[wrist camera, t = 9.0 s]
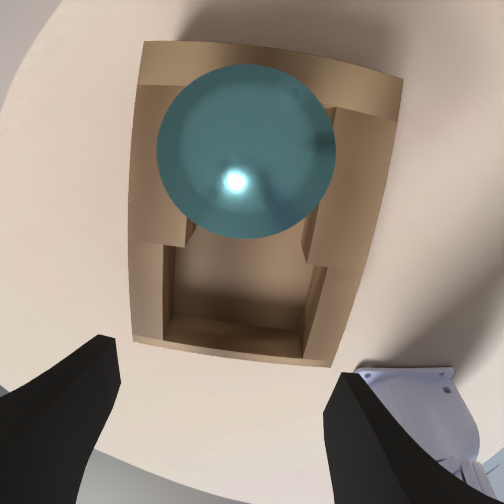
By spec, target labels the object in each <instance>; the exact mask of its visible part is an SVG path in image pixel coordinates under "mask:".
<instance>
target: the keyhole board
mask: <svg viewBox="0 0 504 504" xmlns="http://www.w3.org/2000/svg"><path fill="white" fill-rule="evenodd" d="M239 64H253V65H262V66H266V67H270V68H274V69H277V70H279V71H282V72H285V73H287V74H288V75H290V76H292V77H294V78H296V79H297V80H298V81H300V82H301V83H302V84H304V85H305V86H306V87H307V88H308V89H309V90H310V91H311V92H312V93H313V94H314V95H315V96H316V97H317V99H318V100H319V101H320V103H321V104H322V106H323V107H324V109H325V111H326V113H327V114H328V117H329V119H330V122H331V124H332V128H333V132H334V135H335V143H336V161H335V167H334V172H333V175H332V179H331V182H330V184H329V186H328V189H327V191H326V193H325V194H324V196H323V198H322V199H321V201H320V202H319V203H318V205H317V206H316V207H315V208H314V210H313V211H312V212H311V213H309V214H308V215H307V216H306V217H305V218H304V219H303V220H301V221H300V222H299V223H297V224H296V225H294V226H292V227H290V228H289V229H287V230H285V231H282V232H280V233H277V234H275V235H271V236H267V237H262V238H255V239H238V238H230V237H226V236H221V235H218V234H215V233H213V232H210V231H208V230H206V229H204V228H202V227H200V226H198V225H197V224H195V223H194V222H193V221H191V220H190V219H189V218H187V217H186V216H185V215H184V214H183V213H182V212H181V211H180V210H179V209H178V208H177V206H176V205H175V204H174V203H173V201H172V200H171V198H170V197H169V195H168V194H167V191H166V189H165V187H164V185H163V183H162V180H161V177H160V174H159V170H158V165H157V153H156V150H157V139H158V134H159V129H160V126H161V123H162V120H163V118H164V116H165V114H166V112H167V110H168V108H169V106H170V105H171V103H172V102H173V100H174V99H175V98H176V97H177V96H178V94H179V93H180V92H181V91H182V90H183V89H184V88H185V87H186V86H188V85H189V84H190V83H191V82H193V81H194V80H196V79H197V78H199V77H200V76H202V75H204V74H206V73H208V72H210V71H213V70H216V69H219V68H222V67H226V66H231V65H239ZM402 86H403V79H401V78H398V77H395V76H392V75H389V74H386V73H383V72H379V71H376V70H372V69H369V68H365V67H362V66H358V65H354V64H350V63H346V62H342V61H338V60H334V59H329V58H325V57H320V56H315V55H310V54H305V53H299V52H294V51H288V50H281V49H275V48H268V47H260V46H251V45H242V44H231V43H218V42H199V41H144V45H143V51H142V57H141V63H140V70H139V77H138V84H137V91H136V100H135V108H134V118H133V128H132V140H131V153H130V170H129V193H128V269H129V292H130V309H131V323H132V335H133V342H138V343H143V344H148V345H153V346H158V347H163V348H169V349H174V350H180V351H186V352H192V353H198V354H205V355H211V356H218V357H225V358H233V359H241V360H249V361H257V362H267V363H277V364H287V365H299V366H312V367H328V368H331V365H332V363H333V360H334V358H335V355H336V352H337V349H338V347H339V344H340V341H341V338H342V335H343V333H344V330H345V327H346V324H347V321H348V318H349V315H350V312H351V309H352V306H353V303H354V300H355V297H356V293H357V290H358V287H359V284H360V280H361V277H362V274H363V270H364V267H365V263H366V260H367V256H368V253H369V249H370V245H371V242H372V238H373V234H374V230H375V226H376V222H377V218H378V214H379V210H380V206H381V202H382V198H383V193H384V189H385V184H386V179H387V175H388V170H389V165H390V160H391V155H392V150H393V144H394V139H395V133H396V127H397V121H398V114H399V108H400V101H401V94H402Z"/></svg>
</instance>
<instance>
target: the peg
mask: <svg viewBox="0 0 504 504" xmlns="http://www.w3.org/2000/svg"><path fill="white" fill-rule="evenodd" d="M156 153H157V165H158V170H159V174H160V177H161V180H162V183H163V185H164V187H165V189H166V191H167V194H168V195H169V197H170V198H171V200H172V201H173V203H174V204H175V205H176V206H177V208H178V209H179V210H180V211H181V212H182V213H183V214H184V215H185V216H186V217H187V218H189V219H190V220H191V221H193V222H194V223H195V224H197V225H198V226H200V227H202V228H204V229H206V230H208V231H210V232H213V233H215V234H218V235H221V236H226V237H230V238H238V239H255V238H262V237H267V236H271V235H275V234H277V233H280V232H282V231H285V230H287V229H289V228H290V227H292V226H294V225H296V224H297V223H299V222H300V221H301V220H303V219H304V218H305V217H306V216H307V215H308V214H309V213H311V212H312V211H313V210H314V208H315V207H316V206H317V205H318V203H319V202H320V201H321V199H322V198H323V196H324V194H325V193H326V191H327V189H328V186H329V184H330V182H331V179H332V175H333V172H334V167H335V161H336V143H335V135H334V132H333V128H332V124H331V122H330V119H329V117H328V114H327V113H326V111H325V109H324V107H323V106H322V104H321V103H320V101H319V100H318V99H317V97H316V96H315V95H314V94H313V93H312V92H311V91H310V90H309V89H308V88H307V87H306V86H305V85H304V84H302V83H301V82H300V81H298V80H297V79H296V78H294V77H292V76H290V75H288V74H287V73H285V72H282V71H279V70H277V69H274V68H270V67H266V66H262V65H253V64H239V65H231V66H226V67H222V68H219V69H216V70H213V71H210V72H208V73H206V74H204V75H202V76H200V77H199V78H197V79H196V80H194V81H193V82H191V83H190V84H189V85H188V86H186V87H185V88H184V89H183V90H182V91H181V92H180V93H179V94H178V96H177V97H176V98H175V99H174V100H173V102H172V103H171V105H170V106H169V108H168V110H167V112H166V114H165V116H164V118H163V120H162V123H161V126H160V129H159V134H158V139H157V150H156Z"/></svg>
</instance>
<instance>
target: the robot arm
mask: <svg viewBox="0 0 504 504" xmlns="http://www.w3.org/2000/svg"><path fill="white" fill-rule="evenodd" d="M367 373H369V374H367ZM454 373H455V370H454V368H453V367H439V368H359V369H357V370H356V371H355V373H345V372H341V375H340V377H339V379H338V381H337V384H336V386H335V388H334V390H333V393H332V395H331V397H330V399H329V401H328V403H327V405H326V408H325V410H324V412H323V425H324V441H325V447H326V453H327V458H328V464H329V470H330V476H331V481H332V487H333V493H334V502H335V504H504V503H503V502H500V501H498V500H497V498H496V496H495V493H494V491H493V488H492V486H491V484H490V482H489V479H488V477H487V475H486V473H485V471H484V469H483V467H482V466H481V464H480V462H477V461H476V458H477V456H478V453H479V446H480V438H479V431H478V428H477V425H476V423H475V421H474V419H473V417H472V415H471V413H470V412H469V410H468V408H467V406H466V404H465V402H464V401H463V399H462V397H461V395H460V394H459V392H458V390H457V388H456V387H455V385H454V383H453V381H452V380H451V378H452V376H453V375H454ZM366 374H367V375H366ZM120 384H121V379H120V372H119V365H118V358H117V350H116V341H115V338H112V337H108V336H104V335H100V334H98V335H97V336H95V337H94V338H92V339H91V340H89V341H88V342H87V343H85V344H84V345H82V346H81V347H80V348H78V349H77V350H76V351H74V352H73V353H71V354H70V355H69V356H67V357H66V358H65V359H63V360H62V361H60V362H59V363H57V364H56V365H55V366H53V367H52V368H50V369H49V370H47V371H46V372H44V373H42V374H41V375H39V376H38V377H36V378H35V379H33V380H31V381H30V382H28V383H27V384H25V385H23V386H21V387H20V388H18V389H16V390H14V391H12V392H10V393H8V394H6V395H4V396H2V397H0V504H75V503H76V499H77V495H78V491H79V487H80V484H81V481H82V477H83V473H84V470H85V467H86V465H87V462H88V460H89V457H90V455H91V453H92V451H93V449H94V446H95V444H96V442H97V440H98V438H99V436H100V434H101V432H102V430H103V427H104V425H105V423H106V421H107V419H108V417H109V415H110V413H111V411H112V408H113V406H114V403H115V400H116V397H117V394H118V391H119V387H120Z"/></svg>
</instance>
